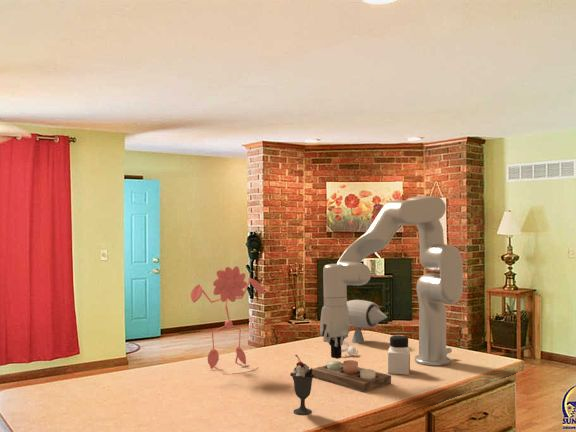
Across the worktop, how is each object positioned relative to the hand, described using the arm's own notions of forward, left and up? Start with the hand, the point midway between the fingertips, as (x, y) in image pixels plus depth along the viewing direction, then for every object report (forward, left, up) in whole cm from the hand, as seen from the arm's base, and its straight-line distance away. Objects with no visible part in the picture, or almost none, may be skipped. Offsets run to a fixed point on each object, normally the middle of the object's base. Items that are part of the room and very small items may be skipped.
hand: (336, 357), depth 189 cm
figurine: (+21, -30, -6) cm, 37 cm away
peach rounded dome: (+1, +7, -4) cm, 8 cm away
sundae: (+33, +18, -6) cm, 38 cm away
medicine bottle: (-19, +11, -6) cm, 23 cm away
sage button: (+1, 0, -5) cm, 5 cm away
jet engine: (-44, -26, -6) cm, 52 cm away
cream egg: (+1, +14, -5) cm, 15 cm away
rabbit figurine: (-23, -16, -6) cm, 29 cm away
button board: (+1, +7, -6) cm, 9 cm away
